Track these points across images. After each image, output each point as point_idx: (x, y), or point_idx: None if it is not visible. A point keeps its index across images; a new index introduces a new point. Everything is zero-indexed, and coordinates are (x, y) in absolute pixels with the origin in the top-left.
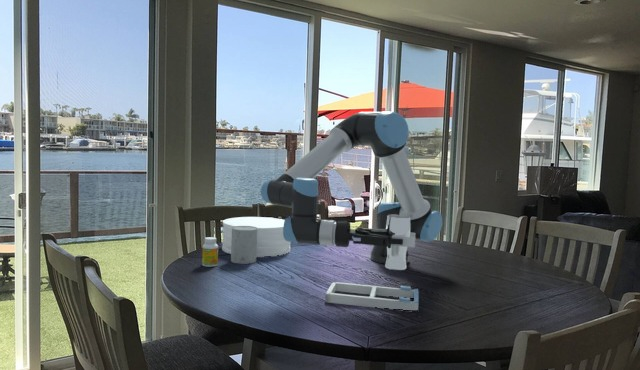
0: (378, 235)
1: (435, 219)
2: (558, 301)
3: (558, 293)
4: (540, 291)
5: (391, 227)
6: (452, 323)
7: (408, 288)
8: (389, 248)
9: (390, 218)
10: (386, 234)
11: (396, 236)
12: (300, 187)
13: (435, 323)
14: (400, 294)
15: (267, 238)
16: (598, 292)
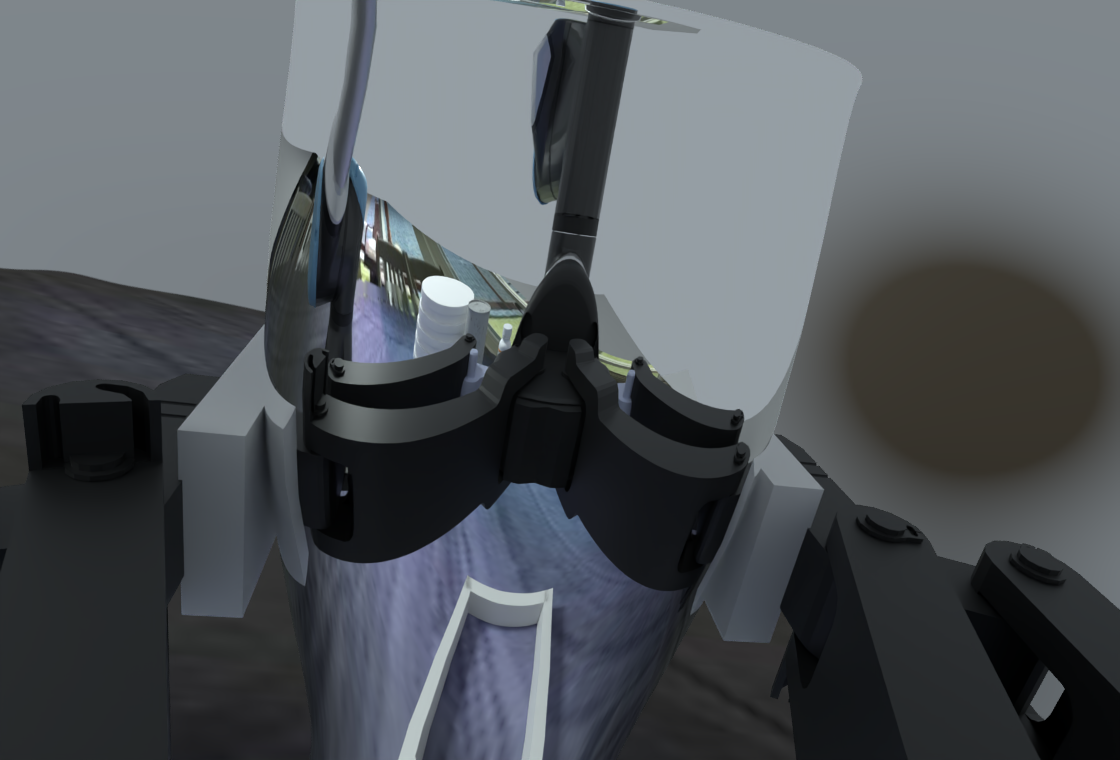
0: (1014, 720)
1: None
2: (221, 357)
3: (110, 333)
4: (73, 355)
5: (798, 337)
6: (685, 675)
7: None
8: (628, 733)
9: (841, 115)
10: (667, 561)
11: (783, 448)
12: None
13: (746, 753)
14: None
15: None
16: (106, 281)
